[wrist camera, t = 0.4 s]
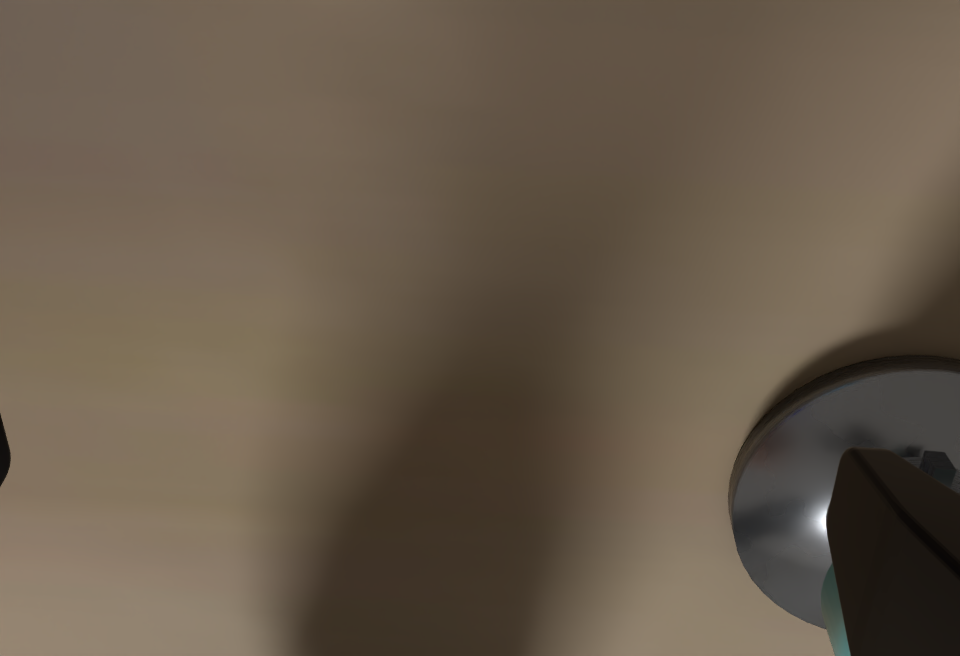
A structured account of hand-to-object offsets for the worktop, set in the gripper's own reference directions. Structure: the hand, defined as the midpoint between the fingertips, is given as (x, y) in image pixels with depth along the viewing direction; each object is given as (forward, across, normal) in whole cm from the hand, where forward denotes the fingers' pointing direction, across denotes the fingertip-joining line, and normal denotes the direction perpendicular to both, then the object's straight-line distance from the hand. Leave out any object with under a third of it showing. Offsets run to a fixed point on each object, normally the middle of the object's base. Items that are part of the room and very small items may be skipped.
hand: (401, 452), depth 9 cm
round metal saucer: (+14, -11, +10) cm, 20 cm away
